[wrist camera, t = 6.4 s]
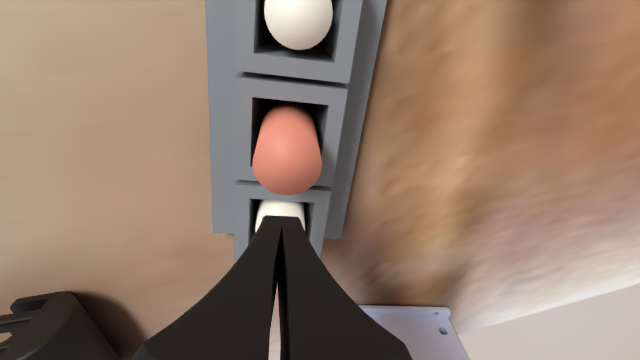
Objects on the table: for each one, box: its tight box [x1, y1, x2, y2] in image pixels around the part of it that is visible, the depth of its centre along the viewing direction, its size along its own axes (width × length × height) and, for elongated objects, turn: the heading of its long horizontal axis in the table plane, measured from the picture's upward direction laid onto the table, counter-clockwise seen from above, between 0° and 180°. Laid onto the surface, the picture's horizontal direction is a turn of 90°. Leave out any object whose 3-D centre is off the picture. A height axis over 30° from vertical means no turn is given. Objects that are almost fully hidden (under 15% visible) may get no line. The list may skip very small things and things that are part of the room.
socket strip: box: [205, 0, 387, 260], centre depth 18 cm, size 9×18×5 cm, turn 173°
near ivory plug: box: [264, 0, 333, 50], centre depth 15 cm, size 3×3×5 cm
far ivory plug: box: [255, 199, 305, 232], centre depth 20 cm, size 3×3×5 cm
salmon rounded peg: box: [253, 102, 322, 195], centre depth 15 cm, size 3×3×5 cm
